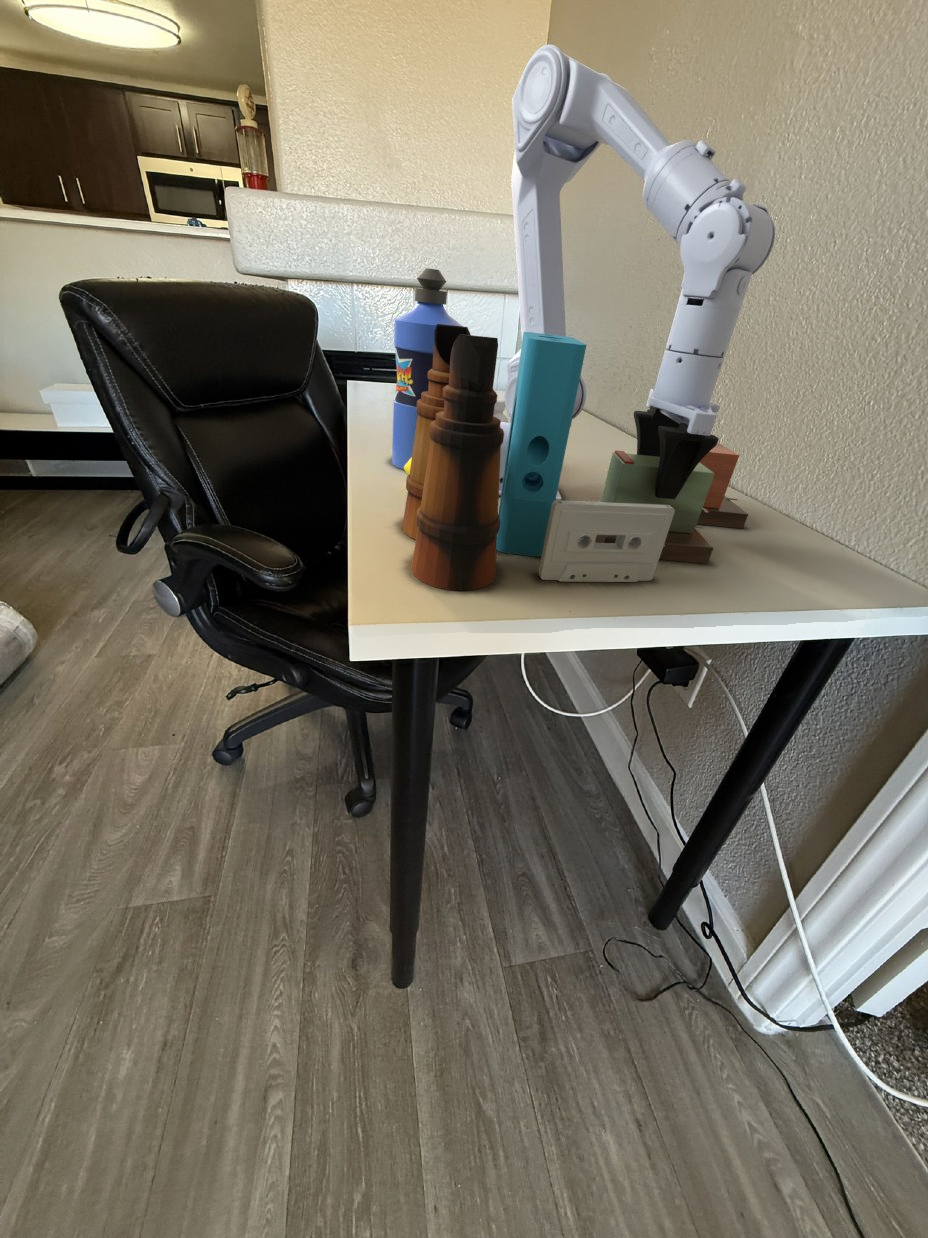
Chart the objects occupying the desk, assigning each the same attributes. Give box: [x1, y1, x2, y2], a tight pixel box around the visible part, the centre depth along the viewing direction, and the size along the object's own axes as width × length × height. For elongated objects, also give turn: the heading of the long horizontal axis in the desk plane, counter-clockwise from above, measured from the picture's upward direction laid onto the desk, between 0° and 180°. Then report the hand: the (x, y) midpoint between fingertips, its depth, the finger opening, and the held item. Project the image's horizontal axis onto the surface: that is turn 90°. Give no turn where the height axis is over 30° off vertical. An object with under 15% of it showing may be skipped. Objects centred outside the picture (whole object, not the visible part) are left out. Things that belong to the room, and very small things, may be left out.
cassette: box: [537, 500, 675, 583], centre depth 50 cm, size 12×2×8 cm, turn 99°
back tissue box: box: [700, 442, 740, 508], centre depth 71 cm, size 10×5×7 cm, turn 179°
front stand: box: [584, 500, 714, 565], centre depth 62 cm, size 14×14×2 cm
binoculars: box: [401, 324, 504, 592], centre depth 49 cm, size 18×8×20 cm, turn 11°
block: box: [496, 332, 587, 557], centre depth 53 cm, size 12×5×20 cm, turn 176°
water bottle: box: [391, 267, 463, 470], centre depth 73 cm, size 9×9×25 cm
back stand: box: [697, 495, 749, 529], centre depth 73 cm, size 14×14×2 cm
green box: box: [600, 450, 715, 534], centre depth 59 cm, size 10×5×7 cm, turn 89°
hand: (654, 486), depth 59 cm, fingers open, 7 cm apart
